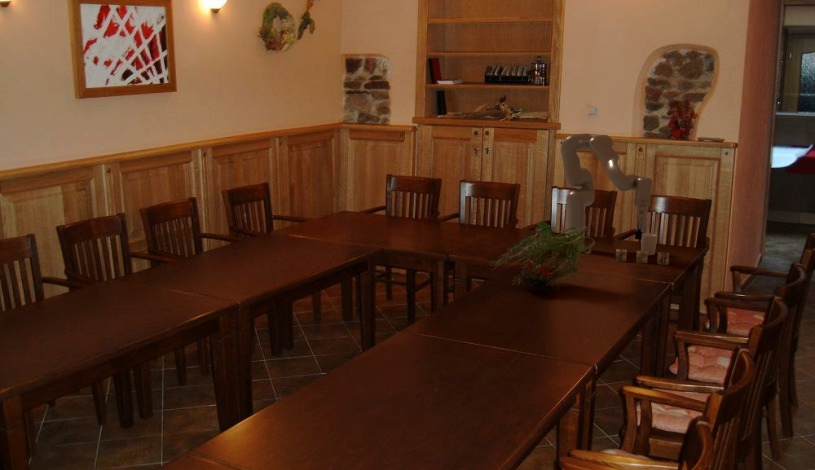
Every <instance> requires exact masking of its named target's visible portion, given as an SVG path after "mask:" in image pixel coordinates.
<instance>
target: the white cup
mask: <svg viewBox="0 0 815 470" xmlns="http://www.w3.org/2000/svg"><path fill="white" fill-rule="evenodd" d="M657 240H658V234H654V233H648V232H647V233H642V239H641V240H640V251H648V256H655V255H656V249H657Z"/></svg>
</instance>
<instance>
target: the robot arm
mask: <svg viewBox="0 0 815 470" xmlns="http://www.w3.org/2000/svg"><path fill="white" fill-rule="evenodd" d="M613 141H614V140H613V139H612V138H611V136H609V135H608V134H597V133H596V134H595V133H576V134H575V133H574V134H571V135H569V136H566V137H565V139H563V141H562V143H561V145H560V146H561V147H560V154H561V159H562V163H563V165H562V166H563V171H564V177H565V182H566V184H567V186H568V187H570V188H577V189H573V190H571V191H569V192H568V194H567V195H566V199H565V202H566V214H567V215H566V229H565V231H566V230H567V229H569V228H571V227H573V228H576V229H577V232H578V234H579V233H580V231H582V230H584V229H585V228H584V227H586V218H587V215H586V210H585V207H589V206H591V205H592V204H593V203H595V198H596V194H595V193H596V192H595V186H594V180H593V176H592V173H591V171H590V170H589V169H588V168H586V167H581V161H580V160H581V159H580V157H579V155H578V153H577V152H579V151H591V152H592V154H593V155H595V156H596V158H597V159H598V160H599V161H600V162H601V164H602V165H603V166H604V168H605V172H606V175H607V177H608V179H609V180H610V182H611V183H612V184H613V185H614V186H615V188H616V189H618V190H619V191H621V192H628V191H635V193H634V198H633V199H634V201H633V205H634V206H635V215H634V216H635V218H634V221H635V223H634V224H635V227H636V228H635V233H634V239H635V240H640V241H641V239H642V234H643V228H644V227H646V225H647V217H648V208H649V207H650V205H651V197H652V189H653V188H652V187H653V179H652V178H650V177H646V176H639V175H636V174H626V175H625V173H624V172H623V171H622V170H621V169H620V167H619V164H618V162H619V160H620V159H619V158H620V156H619V154H618V153H617V152H616V150H614V149H613V146H614V142H613ZM581 228H582V229H581ZM578 229H579V230H578ZM568 231H572V232H573V233H574V234H575V231H574V229H570V230H568ZM568 231H567V232H565V234H568V233H569V234H571V235H572V233H570V232H568ZM585 234H586V231H585V232H584V233H583V235H582V236H581V238H582V237H585ZM567 236H568V235H566V236H565V238H567ZM575 236H576V234H575ZM581 240H582V239H581ZM578 244H579V243H578ZM580 245H581V242H580ZM560 246H562V245H560ZM578 246H579V245H578ZM585 247H586V246H585V245H584V246H583V248H585ZM578 251H579V250H578ZM584 251H586V252H587V250H584ZM581 253H583V251H581Z"/></svg>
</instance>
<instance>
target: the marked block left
mask: <svg viewBox="0 0 815 470" xmlns="http://www.w3.org/2000/svg"><path fill="white" fill-rule="evenodd" d="M627 251H628V250H627V249H620V248H619V249H618V248H616V252H615V262H624V261H625V262H627V254H628V253H627Z"/></svg>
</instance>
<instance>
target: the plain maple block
mask: <svg viewBox="0 0 815 470" xmlns="http://www.w3.org/2000/svg"><path fill="white" fill-rule="evenodd" d="M648 257H649V255H648V251H641V250H636V263H637V264H640V263H641V264H648Z"/></svg>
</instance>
